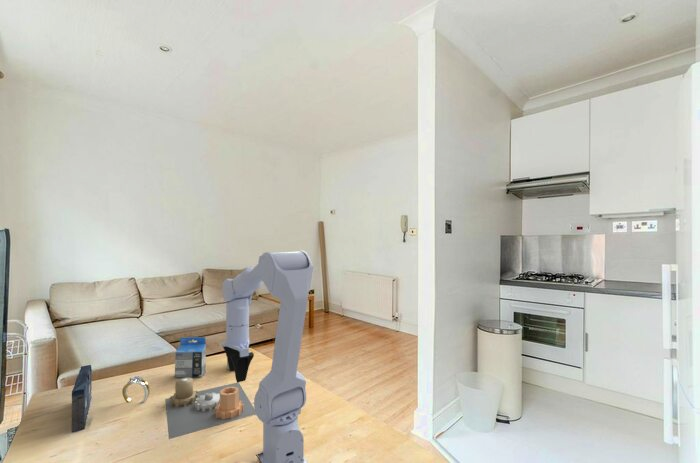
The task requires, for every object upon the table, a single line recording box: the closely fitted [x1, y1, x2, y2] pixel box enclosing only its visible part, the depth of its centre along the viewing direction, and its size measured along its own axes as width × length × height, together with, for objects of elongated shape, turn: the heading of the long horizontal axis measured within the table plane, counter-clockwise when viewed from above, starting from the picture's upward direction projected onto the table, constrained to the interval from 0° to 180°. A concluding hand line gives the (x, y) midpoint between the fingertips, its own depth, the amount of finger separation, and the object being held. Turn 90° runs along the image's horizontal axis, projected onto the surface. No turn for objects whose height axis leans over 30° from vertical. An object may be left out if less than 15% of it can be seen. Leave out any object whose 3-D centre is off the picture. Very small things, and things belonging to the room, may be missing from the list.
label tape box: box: [174, 336, 207, 379], centre depth 111 cm, size 9×4×12 cm, turn 94°
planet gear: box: [215, 387, 243, 419], centre depth 86 cm, size 7×7×6 cm
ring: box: [121, 375, 151, 404], centre depth 91 cm, size 7×3×8 cm, turn 82°
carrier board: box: [164, 377, 256, 440], centre depth 89 cm, size 21×20×7 cm
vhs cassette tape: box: [71, 364, 93, 433], centre depth 87 cm, size 18×3×10 cm, turn 33°
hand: (237, 375), depth 86 cm, fingers open, 7 cm apart
